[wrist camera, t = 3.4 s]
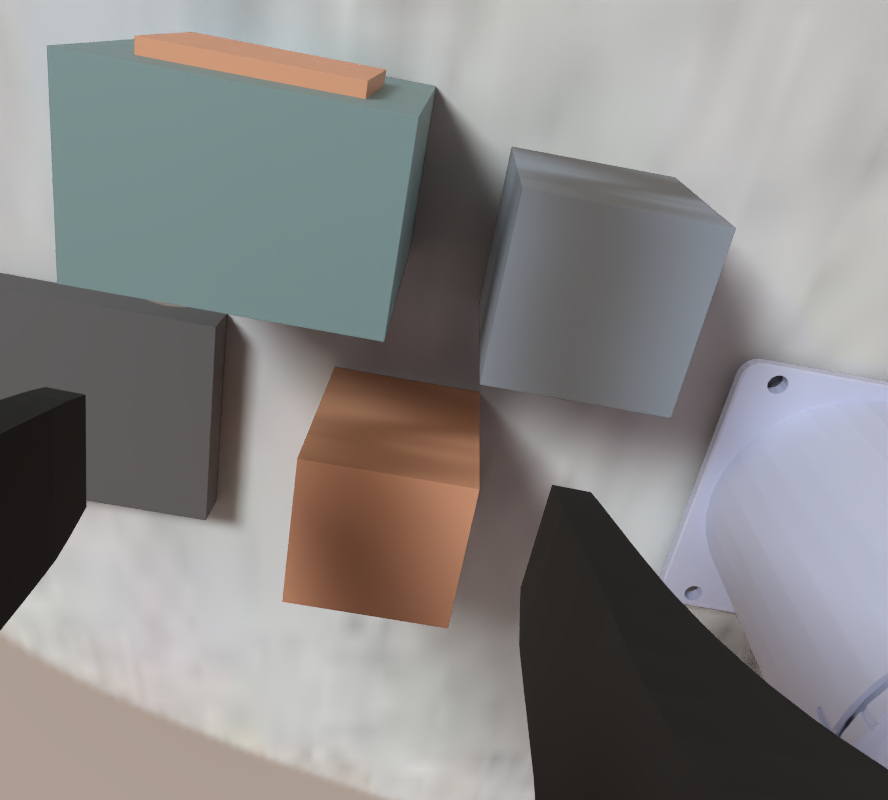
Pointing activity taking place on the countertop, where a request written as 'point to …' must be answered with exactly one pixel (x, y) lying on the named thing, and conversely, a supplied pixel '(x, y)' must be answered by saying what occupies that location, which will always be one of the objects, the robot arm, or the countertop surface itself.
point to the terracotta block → (384, 498)
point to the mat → (125, 387)
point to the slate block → (597, 283)
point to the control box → (236, 178)
